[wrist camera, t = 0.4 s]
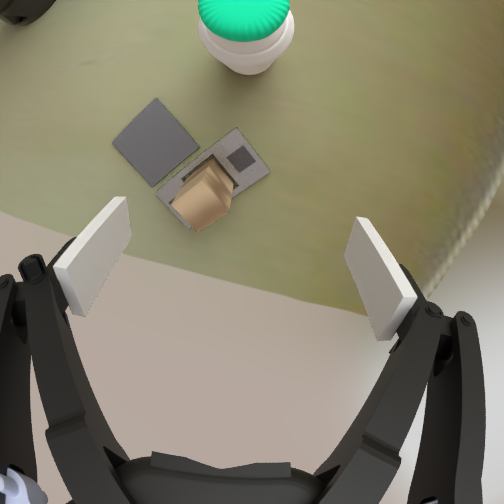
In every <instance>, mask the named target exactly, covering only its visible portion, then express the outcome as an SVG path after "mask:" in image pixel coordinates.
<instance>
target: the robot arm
mask: <svg viewBox="0 0 504 504" xmlns="http://www.w3.org/2000/svg"><path fill="white" fill-rule="evenodd" d="M54 1H55V0H0V19H1V20H3V21H5V22H7V23H8V24H10V25H27V24H29V23H31V22H33V21H35V20H36V19H38V18H39V17H40V16H41V15H42V14H43V13H45V12H46V11H47V9H48V8H49V7H50V6H51V5H52V4H53V2H54ZM131 239H132V234H131V228H130V220H129V213H128V204H127V197H114V198H113V199H112V200H111V201H110V202H109V203H108V204H107V205H106V206H105V207H104V208H103V209H102V210H101V211H100V213H99V214H98V215H97V216H96V217H95V218H94V219H93V220H92V221H91V222H90V223H89V224H88V225H87V227H86V228H85V229H84V230H83V231H82V232H81V233H80V234H79V235H78V237H74V238H72V239H71V240H70V241H68V242H67V243H66V244H65V245H64V246H63V247H62V250H60V251H59V252H58V254H57V255H56V256H55V257H54V258H53V259H52V260H51V262H50V263H49V264H48V266H47V267H46V265H45V263H44V260H43V257H42V256H41V255H40V254H33V255H29V256H28V257H26V258H25V259H23V260H22V261H21V262H20V264H19V266H18V269H19V272H20V274H21V277H22V279H23V282H15V279H14V278H13V275H11V274H5V275H2V276H1V277H0V504H47V502H48V498H47V495H46V494H45V492H44V491H42V490H41V488H40V487H39V485H38V484H37V466H36V458H35V451H34V444H33V435H32V424H31V410H30V364H31V355H32V361H33V366H34V371H35V375H36V381H37V385H38V389H39V393H40V396H41V401H42V404H43V407H44V411H45V414H46V417H47V421H48V424H49V428H48V429H47V430H46V431H45V436H46V439H47V443H48V445H49V448H50V451H51V453H52V456H53V458H54V461H55V463H56V466H57V468H58V470H59V472H60V475H61V477H62V479H63V481H64V483H65V485H66V487H67V489H68V491H69V493H70V495H71V497H72V500H71V501H69V502H68V503H66V504H379V502H380V500H381V499H382V497H383V495H384V494H385V492H386V491H387V489H388V487H389V485H390V484H391V482H392V480H393V478H394V476H395V474H396V473H397V470H398V469H399V467H400V464H401V457H400V456H399V451H400V449H401V447H402V445H403V442H404V440H405V438H406V436H407V434H408V432H409V429H410V427H411V425H412V422H413V420H414V417H415V415H416V412H417V409H418V407H419V404H420V402H421V399H422V396H423V394H424V391H425V388H426V385H427V398H426V407H425V415H424V423H423V430H422V436H421V442H420V447H419V453H418V457H417V462H416V466H415V471H414V475H413V479H412V482H411V486H410V491H409V495H408V501H407V504H483V501H482V487H481V486H482V485H481V477H482V470H483V460H484V450H485V429H486V424H485V423H486V416H485V415H486V411H485V410H486V409H485V389H484V388H485V387H484V375H483V366H482V358H481V351H480V344H479V338H478V333H477V328H476V323H475V321H474V319H473V318H472V316H471V315H469V314H468V313H466V312H464V311H458V312H457V313H456V315H455V316H454V318H451V317H448V316H444V315H443V312H442V310H441V309H440V308H439V307H438V306H437V305H436V304H434V303H432V302H429V301H426V299H425V297H424V296H423V294H422V292H421V291H420V289H419V287H418V286H417V284H416V282H415V281H414V279H412V276H411V274H410V273H409V271H408V270H407V269H406V268H405V267H404V266H403V265H402V264H398V263H397V262H396V260H395V258H394V257H393V255H392V254H391V252H390V251H389V249H388V248H387V246H386V245H385V243H384V242H383V240H382V239H381V237H380V236H379V234H378V233H377V231H376V230H375V228H374V227H373V225H372V224H371V223H370V221H369V220H368V218H362V217H356V218H355V222H354V225H353V228H352V231H351V235H350V238H349V241H348V244H347V247H346V250H345V253H344V258H345V260H346V262H347V265H348V267H349V270H350V272H351V274H352V277H353V279H354V282H355V284H356V286H357V289H358V291H359V294H360V296H361V299H362V302H363V304H364V307H365V309H366V312H367V315H368V317H369V320H370V322H371V325H372V328H373V331H374V333H375V336H376V339H377V341H384V340H385V341H386V340H391V339H392V337H393V336H394V334H395V333H396V332H397V334H398V336H399V339H398V340H397V342H396V343H395V344H394V346H393V347H392V349H391V350H390V352H389V353H390V356H389V358H388V360H387V362H386V364H385V367H384V368H383V371H382V372H381V374H380V376H379V378H378V380H377V382H376V384H375V386H374V388H373V389H372V391H371V393H370V395H369V397H368V399H367V400H366V402H365V404H364V405H363V407H362V409H361V410H360V412H359V414H358V415H357V417H356V419H355V420H354V422H353V423H352V425H351V426H350V428H349V429H348V431H347V433H346V434H345V435H344V437H343V438H342V440H341V441H340V443H339V444H338V446H337V447H336V448H335V450H334V451H333V453H332V454H331V455H330V457H329V458H328V459H327V460H326V461H325V462H324V463H323V464H322V465H321V466H320V467H319V468H318V469H317V470H316V472H315V473H314V474H313V475H311V474H309V473H307V472H305V471H302V470H299V469H296V468H291V467H290V462H284V463H254V464H249V465H243V466H238V467H233V468H226V469H218V468H214V467H211V466H208V465H205V464H202V463H200V462H197V461H194V460H191V459H188V458H186V457H181V456H175V455H169V454H164V453H158V452H153V451H152V455H151V457H141V458H137V459H133V460H130V459H129V457H128V456H127V454H126V453H125V451H124V450H123V449H122V447H121V446H120V445H119V443H118V442H117V441H116V439H115V437H114V435H113V433H112V431H111V430H110V428H109V426H108V424H107V422H106V420H105V418H104V416H103V413H102V411H101V409H100V407H99V405H98V403H97V400H96V398H95V396H94V393H93V391H92V388H91V386H90V383H89V381H88V378H87V376H86V373H85V371H84V368H83V365H82V362H81V359H80V357H79V354H78V350H77V347H76V344H75V341H74V338H73V334H72V331H71V328H70V324H69V321H68V317H67V314H66V312H65V310H66V308H67V307H68V305H69V307H70V310H71V311H72V314H74V315H79V316H83V317H86V315H87V313H88V311H89V309H90V308H91V306H92V304H93V301H94V300H95V298H96V297H97V295H98V293H99V291H100V289H101V287H102V286H103V284H104V282H105V281H106V279H107V277H108V276H109V274H110V272H111V270H112V269H113V267H114V265H115V263H116V262H117V261H118V259H119V257H120V256H121V254H122V253H123V251H124V249H125V248H126V246H127V245H128V243H129V242H130V240H131ZM427 382H428V384H427Z"/></svg>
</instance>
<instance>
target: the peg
mask: <svg viewBox="0 0 504 504" xmlns="http://www.w3.org/2000/svg"><path fill="white" fill-rule="evenodd" d="M233 185H234V181H233V180H232V179H231V178H230V177H229V175H228V174H227V173H226V172H225V171H224V169H223V168H222V167H221V166H220V165H219V163H218V162H217V161H216V160H215V159H214V158H211V159H210V160H209V161H207V162H206V163H205V164H204V165H202V166H201V167H200V168H198V169H197V170H196V171H195V172H193V173H192V174H191V175H190V176H188V178H187V179H186V181H185V182H184V184H183V186H182V187H181V189H180V191H179V192H178V194H177V196H176V197H175V199H174V201H173V202H172V204H171V206H172V207H173V208H174V209H175V210H176V211H177V212H178V213H179V214H180V215H181V216H182V217H183V218H184V219H185V220H186V221H187V222H188V223H189V225H190V226H191V227H192V228H193V229H194V230H195V231H196V232H197V233H199V232H201V231H202V230H203V229H205V228H206V227H208V226H209V225H211V224H212V223H213V222H215V221H216V220H218V219H219V218H221V217H222V216H224V215H225V214H226V213H228V212H229V209H230V203H231V197H232V191H233Z"/></svg>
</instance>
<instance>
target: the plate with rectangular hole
mask: <svg viewBox="0 0 504 504" xmlns="http://www.w3.org/2000/svg"><path fill="white" fill-rule="evenodd" d="M212 154H213V155H214V156H215V157H216V158H217V160H218V161H219V162H220V163H221V164H222V166H223V167H224V168H225V169H226V170H227V172H228V173H229V174H230V175H231V176H232V178H233V179H234V180H235V181H236V182H237V185H236V186H235V187H233V191H232V197H231V198H233V197H234V196H235V195H237V194H238V193H240V192H241V191H243V190H244V189H246V188H247V187H249V186H250V185H252V184H253V183H255V182H256V181H258V180H259V179H261V178H262V177H264V176H265V175H267V174H268V173H270V169H269V168H268V166H267V165H266V164H265V162H264V161H263V160H262V158H261V157H260V156H259V154H258V153H257V152H256V151H255V149H254V148H253V147H252V145H251V144H250V143H249V142H248V140H247V139H246V138H245V137H244V135H243V134H242V133H241V132H240V130H239V129H238V128H237V127H236V128H235V129H234V130H232V131H231V132H229V133H228V134H227V135H225V136H224V137H223V138H221V139H220V140H219V141H217V142H216V143H215V144H213V145H212V146H211V147H209V148H208V149H207V150H206V151H204V152H203V153H202V154H200V155H199V156H198V157H197V158H195V159H194V160H193V161H192V162H190V163H189V164H188V165H187V166H186V167H184V168H183V169H182V170H181V171H180V172H178V173H177V174H176V175H175V176H174V177H172V178H171V179H170V180H169V181H168V182H167V183H165V184H164V185H163V186H162V187H161V188H160V189H159V190H157V192H156V193H155V194H156V196H157V197H158V198H159V199H160V200H161V201H162V202H163V203H164V204H165V205H166V206H167V207H168V208H169V209H170V210H171V211H172V212H173V214H174V215H175V216H176V217H177V218H178V219H179V220H180V221H181V222H182V223H183V224H184V225H185V226H186V227H187V228H188V229H189V228H191V226H190V225H189V223H188V222H187V221H186V220H185V219H184V218H183V217H182V216H181V215H180V214H179V213H178V212H177V211H176V210H175V209H174V208H173V207H172V206H171V204H172V202H173V201H174V199H175V197H176V196H177V194H178V192H179V191H180V189H181V187H182V186H183V184H184V182H185V181H186V180H185V179H184V176H185V175H186V174H188V173H189V172H190V171H191V170H193V169H194V168H195V167H196V166H198V165H199V164H200V163H201V162H203V161H204V160H205V159H207V158H208V157H209V156H210V155H212Z"/></svg>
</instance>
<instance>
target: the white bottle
mask: <svg viewBox="0 0 504 504" xmlns="http://www.w3.org/2000/svg"><path fill="white" fill-rule="evenodd" d="M198 2H199V5H198V9H199V14H200V20H199V26H198V30H199V36H200V39H201V42H202V44H203V46H204V47H205V49H206V50H207V51H208V52H209V53H210V54H211V55H212V56H213V57H215V58H216V59H218V60H219V61H221V62H222V63H223V64H225V65H227V66H228V67H229V68H230V69H232V70H233V71H235V72H237V73H240V74H244V75H254V74H258V73H261V72H263V71H265V70H266V69H268V68H269V67H270V66H271V65H272V63H273V62H274V61H275V60H276V59H277V58H278V57H279V56H280V55H281V54H282V53H283V52H284V51H285V50H286V49H287V48H288V46H289V45H290V43H291V41H292V38H293V35H294V20H293V16H292V14H291V12H290V6H289V2H290V1H289V0H198Z"/></svg>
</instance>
